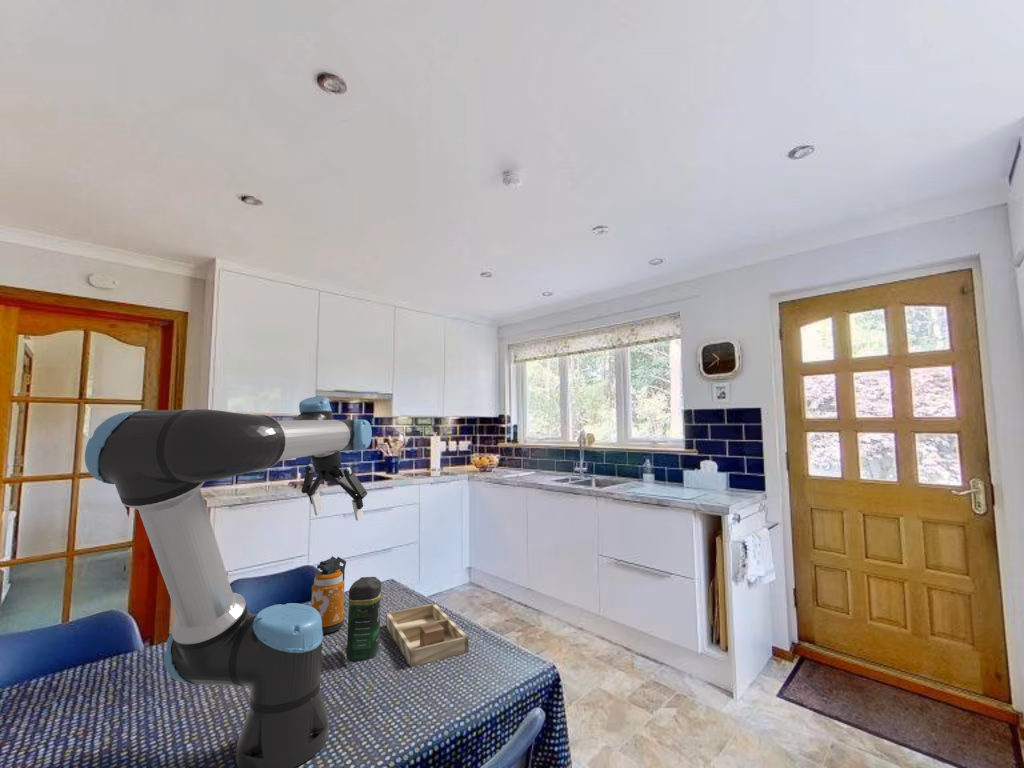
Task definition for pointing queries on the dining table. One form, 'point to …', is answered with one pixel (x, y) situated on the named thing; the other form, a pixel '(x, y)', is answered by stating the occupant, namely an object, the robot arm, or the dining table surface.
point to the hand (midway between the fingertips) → (339, 515)
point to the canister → (329, 593)
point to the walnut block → (431, 634)
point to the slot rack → (407, 634)
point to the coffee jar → (364, 619)
